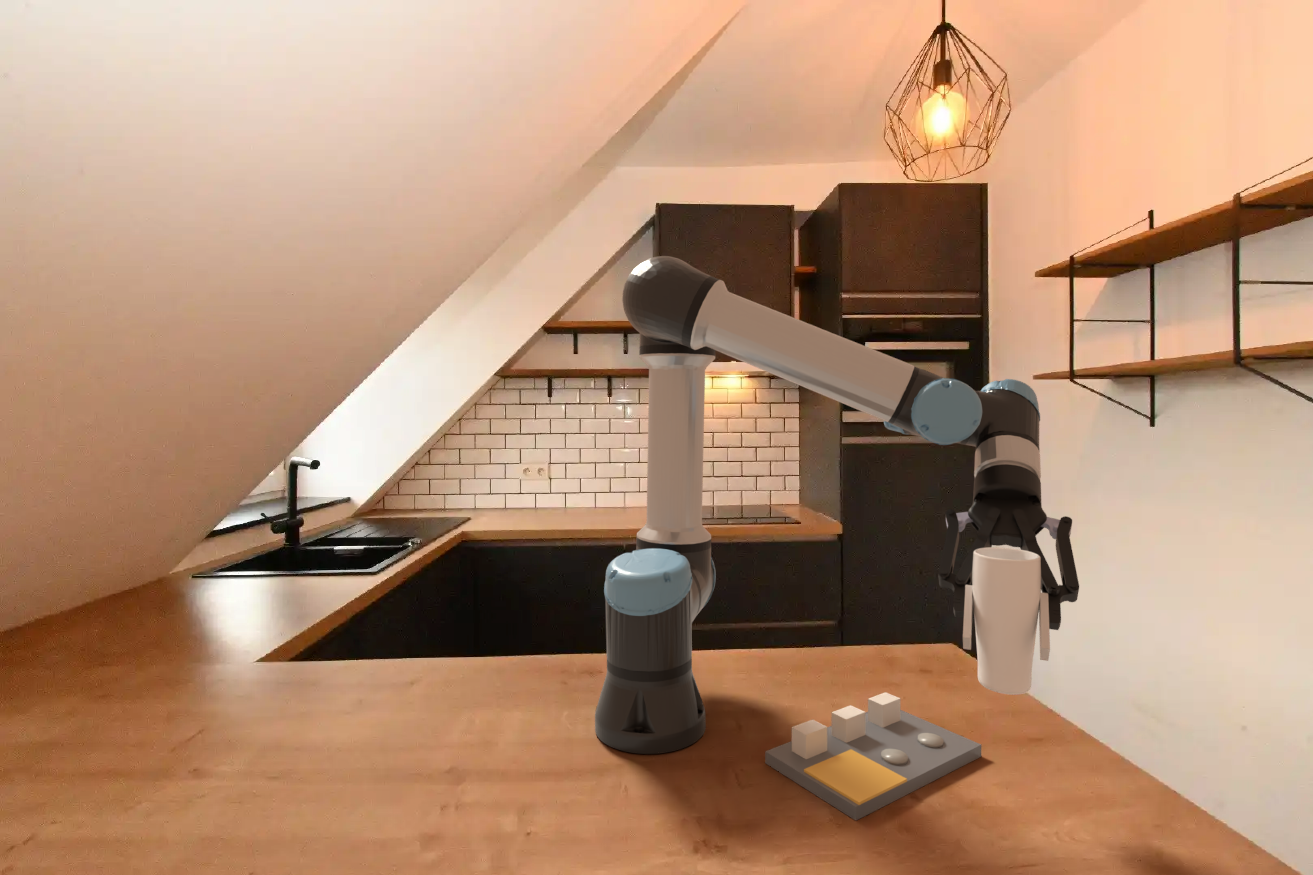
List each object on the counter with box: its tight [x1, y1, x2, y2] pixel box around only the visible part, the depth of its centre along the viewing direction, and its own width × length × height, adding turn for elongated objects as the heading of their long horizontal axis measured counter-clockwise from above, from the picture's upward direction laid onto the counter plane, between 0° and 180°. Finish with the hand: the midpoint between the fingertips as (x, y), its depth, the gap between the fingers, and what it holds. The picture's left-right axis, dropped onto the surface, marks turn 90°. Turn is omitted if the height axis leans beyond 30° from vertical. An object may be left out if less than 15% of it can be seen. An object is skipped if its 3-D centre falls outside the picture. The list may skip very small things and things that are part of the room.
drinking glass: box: [971, 546, 1042, 696], centre depth 75 cm, size 7×7×15 cm
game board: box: [764, 691, 982, 821], centre depth 84 cm, size 14×23×4 cm, turn 123°
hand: (1005, 648), depth 72 cm, fingers closed on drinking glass, 7 cm apart
